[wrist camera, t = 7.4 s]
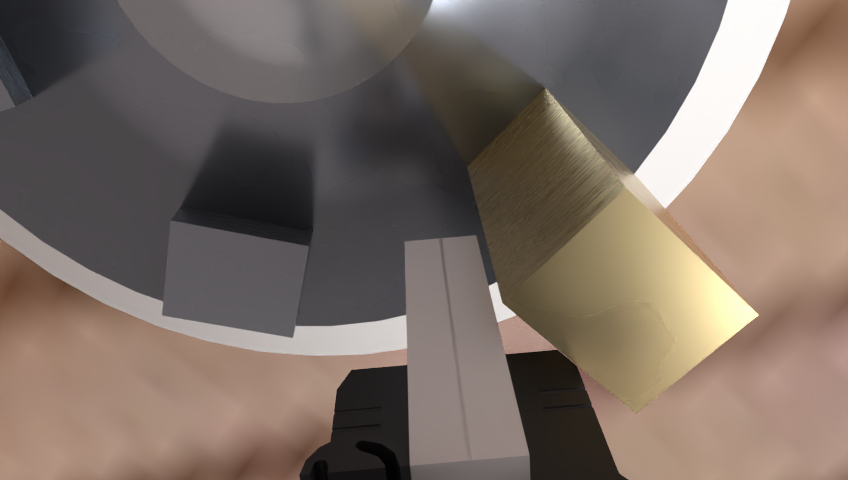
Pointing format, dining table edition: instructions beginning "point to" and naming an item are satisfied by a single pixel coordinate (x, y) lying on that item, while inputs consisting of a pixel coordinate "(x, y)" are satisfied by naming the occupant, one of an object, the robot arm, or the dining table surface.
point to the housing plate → (661, 174)
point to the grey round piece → (370, 161)
